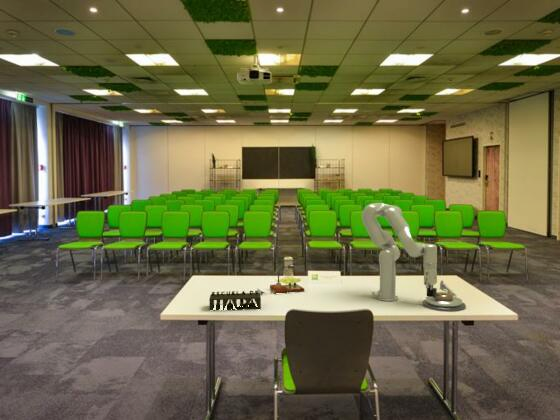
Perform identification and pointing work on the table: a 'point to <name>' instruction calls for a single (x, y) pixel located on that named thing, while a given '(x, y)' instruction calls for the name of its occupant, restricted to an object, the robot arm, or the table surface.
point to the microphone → (284, 288)
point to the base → (444, 307)
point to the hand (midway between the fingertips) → (429, 296)
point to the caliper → (445, 287)
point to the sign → (234, 297)
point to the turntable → (443, 300)
